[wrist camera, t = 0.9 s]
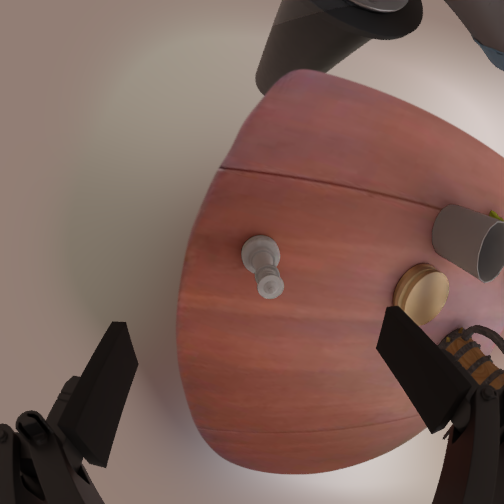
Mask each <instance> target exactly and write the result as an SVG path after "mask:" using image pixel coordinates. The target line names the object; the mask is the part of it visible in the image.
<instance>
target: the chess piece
mask: <svg viewBox="0 0 504 504" xmlns="http://www.w3.org/2000/svg"><path fill="white" fill-rule="evenodd" d="M241 256H242V261H243V264H244V265H245V267H246V268H247V269H248V270H249V271H250V272H252V273H255V280H256V282H257V289H258V292H259V294H260V295H261V296H262V297H264V298H267V299H273V298H276V297H278V296H279V295H280V294H281V293H282V291H283V289H284V283H283V280H282V279H281V278H280V274H279V271H278V269H277V268H276V266H277V265H278V263H279V260H280V252H279V248H278V246H277V244H276V242H275V241H274V240H273V239H271V238H270V237H268V236H265V235H257V236H253V237H251V238H249V239H248V240H247V241H246V242H245V244H244V245H243V248H242V251H241Z"/></svg>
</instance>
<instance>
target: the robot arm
mask: <svg viewBox="0 0 504 504" xmlns="http://www.w3.org/2000/svg"><path fill="white" fill-rule="evenodd" d="M342 1H344V2H346V3H347V4H349V5H351V6H353V7H356V8H358V9H361V10H363V11H367V12H370V13H375V14H392V13H395V12H397V11H398V10H400V9H401V8H403V7H404V6H405V5H406V4H407V2H408V1H409V0H342ZM444 1H445V2H446V3H447V4H448V5H449V7H450V8H451V9H452V10H453V11H454V12H455V13H456V15H457V16H458V17H459V19H460V20H461V21H462V23H463V24H464V25H465V27H466V28H467V29H468V31H469V32H470V33H471V36H472V37H473V39H474V41H475V42H476V43H477V44H478V45H480V47H481V48H482V50H483V51H484V53H485V54H486V55H487V57H488V59H489V60H490V61H491V62H492V63H493V64H494V65H495V66H496V67H497V68H499V69H501V70H503V71H504V0H444ZM376 349H377V351H378V352H379V354H380V355H381V356H382V358H383V359H384V361H385V362H386V364H387V365H388V367H389V368H390V370H391V371H392V373H393V374H394V376H395V377H396V379H397V380H398V382H399V383H400V385H401V386H402V388H403V389H404V391H405V392H406V394H407V396H408V397H409V399H410V400H411V402H412V403H413V405H414V407H415V408H416V410H417V411H418V413H419V414H420V416H421V418H422V419H423V421H424V422H425V424H426V426H427V427H428V429H429V431H430V432H431V434H433V433H435V432H437V431H440V430H442V429H444V428H445V426H446V425H447V424H448V422H449V421H450V420H451V422H452V423H453V425H452V426H451V427H450V429H449V430H448V431H447V432H446V434H445V435H444V437H443V439H445V438H446V437H447V436H448V435H449V438H448V444H447V449H446V454H445V459H444V463H443V468H442V471H441V476H440V479H439V483H438V486H437V490H436V493H435V496H434V499H433V502H432V504H504V388H503V389H497V390H496V389H495V388H494V387H492V386H491V385H488V384H482V385H479V384H478V383H477V381H476V380H475V379H474V378H473V377H472V376H471V375H470V373H469V372H468V371H467V370H466V369H465V368H464V367H462V364H461V363H460V362H459V361H457V359H456V358H455V357H454V356H453V355H452V354H451V353H450V352H448V351H447V350H445V349H443V348H442V349H439V348H438V346H437V345H436V344H435V343H434V342H433V341H432V340H431V339H430V338H429V337H428V336H427V335H426V334H425V333H424V331H423V330H422V329H421V328H420V327H419V326H418V325H417V324H416V323H415V322H414V321H413V320H412V319H411V318H410V317H409V316H408V315H407V314H406V313H405V312H404V311H403V310H402V309H401V308H400V307H399V306H391V307H387V308H386V312H385V316H384V320H383V324H382V328H381V332H380V336H379V339H378V343H377V346H376ZM137 367H138V361H137V358H136V355H135V352H134V349H133V345H132V342H131V339H130V335H129V332H128V328H127V325H126V322H112V323H111V325H110V326H109V328H108V329H107V331H106V333H105V334H104V336H103V338H102V339H101V342H100V343H99V345H98V346H97V348H96V350H95V352H94V353H93V355H92V357H91V359H90V361H89V362H88V364H87V366H86V368H85V370H84V372H83V373H82V375H81V377H77V376H73V377H72V378H70V379H69V380H68V381H67V382H66V383H65V385H64V387H63V389H62V390H61V393H60V394H59V396H58V399H57V400H56V402H55V404H54V405H53V407H52V409H51V411H50V413H49V415H48V417H47V419H46V421H45V419H44V418H43V417H42V416H41V415H40V414H39V413H38V412H37V411H32V410H31V411H26V412H24V413H22V414H21V415H20V416H19V417H18V419H17V421H16V429H17V430H18V432H19V433H18V432H14V431H13V430H12V428H11V427H10V426H8V425H7V424H0V504H105V503H104V502H103V500H102V498H101V497H100V495H99V493H98V492H97V490H96V488H95V486H94V484H93V483H92V481H91V479H90V477H89V475H88V473H87V471H86V469H85V467H84V466H83V464H82V460H83V457H84V458H85V459H86V460H87V461H88V462H89V464H93V465H97V466H101V467H104V468H106V466H107V462H108V458H109V455H110V451H111V448H112V444H113V441H114V437H115V434H116V431H117V427H118V424H119V421H120V417H121V414H122V411H123V408H124V405H125V402H126V399H127V396H128V393H129V390H130V387H131V384H132V381H133V378H134V375H135V372H136V370H137Z"/></svg>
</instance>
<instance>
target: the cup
mask: <svg viewBox="0 0 504 504" xmlns="http://www.w3.org/2000/svg"><path fill="white" fill-rule="evenodd" d="M432 244H433V246H434V249H435V252H436V253H438V254H439V255H440V256H442V257H443V258H445V259H447V260H448V261H450V262H452V263H453V264H455V265H457V266H458V267H460V268H462V269H463V270H465V271H466V272H468V273H470V274H471V275H473V276H474V277H476V278H477V279H479V280H480V281H482V282H483V283H486V282H491V281H492V280H493V279H494V278H496V277H497V276H498V275H499V273H500V271H501V270H502V268H503V266H504V222H503V221H501V220H498V219H495V218H493V217H490V216H487V215H485V214H482V213H479V212H476V211H474V210H471V209H468V208H465V207H462V206H459V205H452V204H450V205H448V206H446V207H445V208H443V209H442V210H441V212H440V213H439V215H438V216H437V218H436V220H435V223H434V226H433V230H432Z"/></svg>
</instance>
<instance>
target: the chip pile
mask: <svg viewBox="0 0 504 504" xmlns="http://www.w3.org/2000/svg"><path fill="white" fill-rule="evenodd" d="M448 293H449V282H448V279H447V277H446V276H445V275H444V274H443V273H441V272H440V271H438V270H437V269H436V268H435V267H433V266H432V265H430V264H425V263H423V264H418V265H416V266H414V267H412V268H411V269H409V270H408V271H407V272H406V273H405V274H404V275H403V276H402V278H401V279H400V281H399V282H398V284H397V286H396V289H395V292H394V296H393V305H394V306H399V307H400V308H401V309H402V310H403V311H404V312H405V313H406V314H407V315H408V316H409V317H410V318H411V319H412V320H413V321H414V322H415V323H416V324H417V325H418V326H420V325H424V324H426V323H428V322H429V321H431V320H432V319H433V318H435V317H436V316H437V315H438V313H439V312H440V311H441V309H442V308H443V306H444V304H445V302H446V300H447V297H448Z"/></svg>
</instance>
